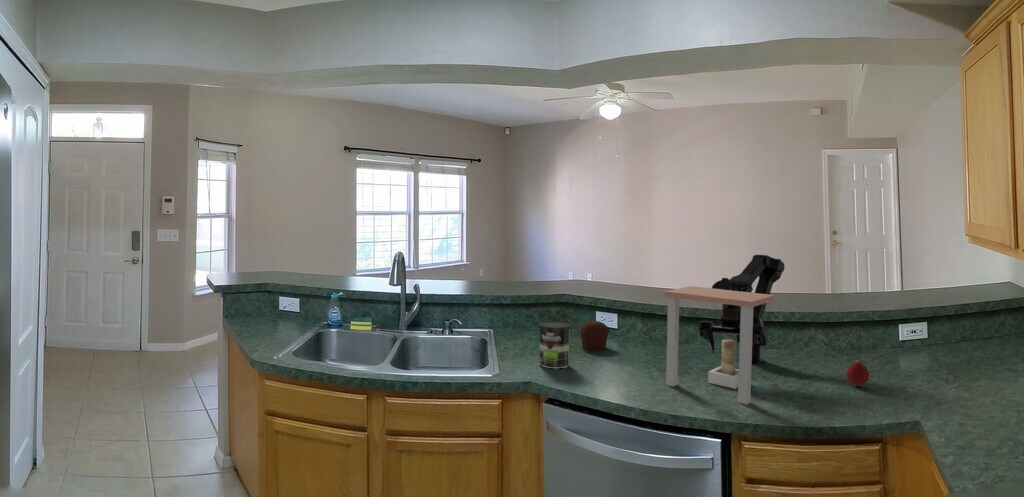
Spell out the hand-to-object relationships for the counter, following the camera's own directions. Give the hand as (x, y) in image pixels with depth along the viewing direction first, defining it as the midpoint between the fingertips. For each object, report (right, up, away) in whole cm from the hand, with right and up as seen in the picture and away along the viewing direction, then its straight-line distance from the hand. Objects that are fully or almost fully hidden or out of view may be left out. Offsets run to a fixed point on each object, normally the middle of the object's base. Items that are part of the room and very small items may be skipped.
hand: (729, 354), depth 175 cm
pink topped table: (-7, -9, -7) cm, 13 cm away
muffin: (-36, -5, +42) cm, 55 cm away
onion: (+37, -9, -5) cm, 38 cm away
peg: (-1, -8, -1) cm, 9 cm away
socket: (-1, -8, -1) cm, 9 cm away
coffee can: (-53, -7, +18) cm, 56 cm away
